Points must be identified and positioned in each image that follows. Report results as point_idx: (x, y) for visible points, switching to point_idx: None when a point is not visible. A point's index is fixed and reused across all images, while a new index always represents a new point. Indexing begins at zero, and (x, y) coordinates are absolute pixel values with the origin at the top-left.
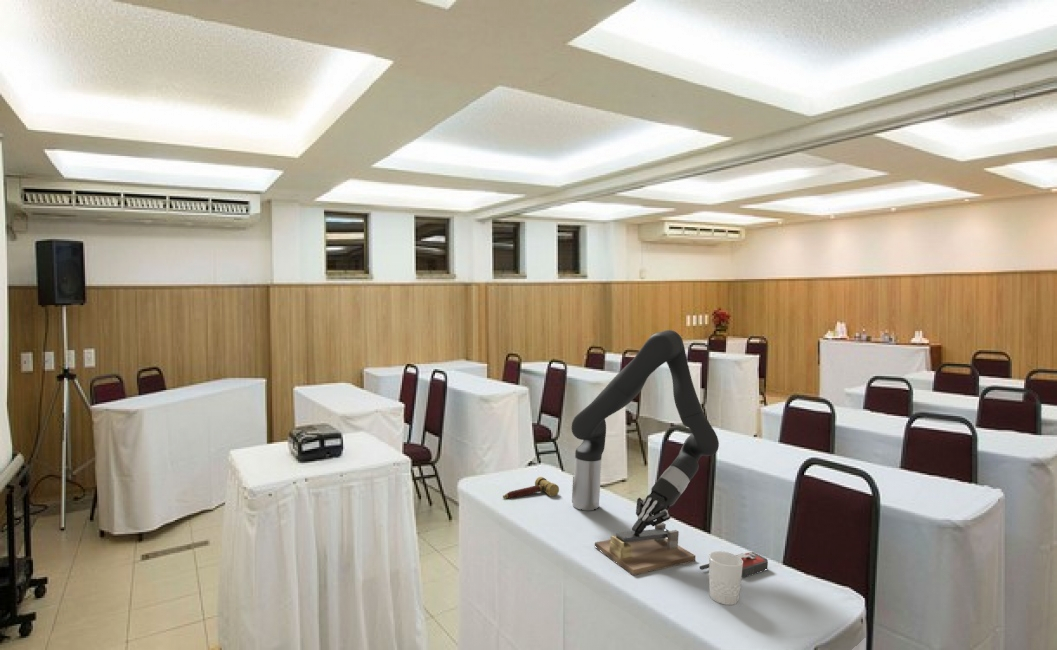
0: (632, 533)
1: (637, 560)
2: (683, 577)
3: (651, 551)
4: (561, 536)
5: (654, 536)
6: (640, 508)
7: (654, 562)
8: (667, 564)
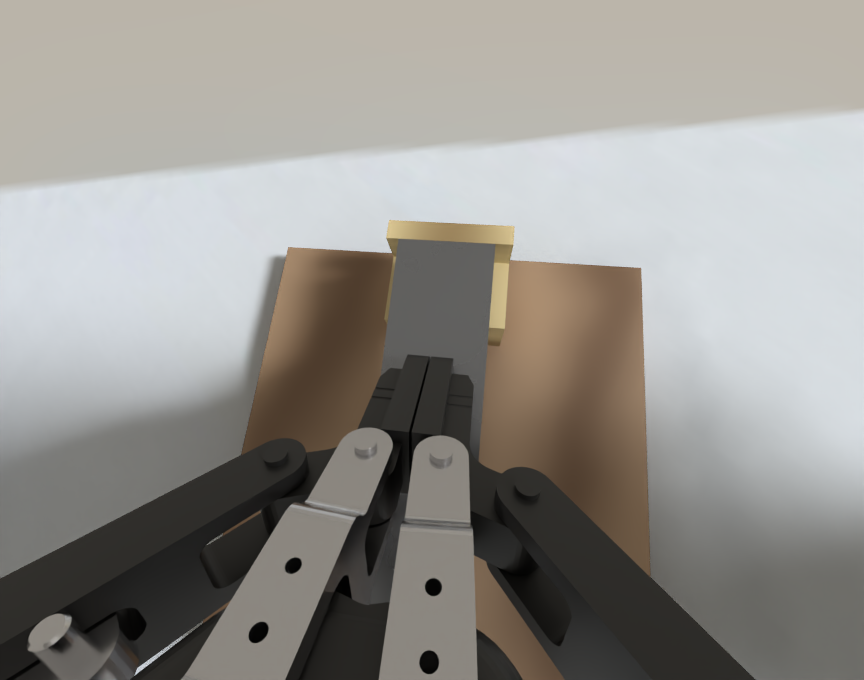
0: None
1: (345, 333)
2: (141, 465)
3: None
4: (831, 203)
5: None
6: (562, 589)
7: (276, 400)
8: None
